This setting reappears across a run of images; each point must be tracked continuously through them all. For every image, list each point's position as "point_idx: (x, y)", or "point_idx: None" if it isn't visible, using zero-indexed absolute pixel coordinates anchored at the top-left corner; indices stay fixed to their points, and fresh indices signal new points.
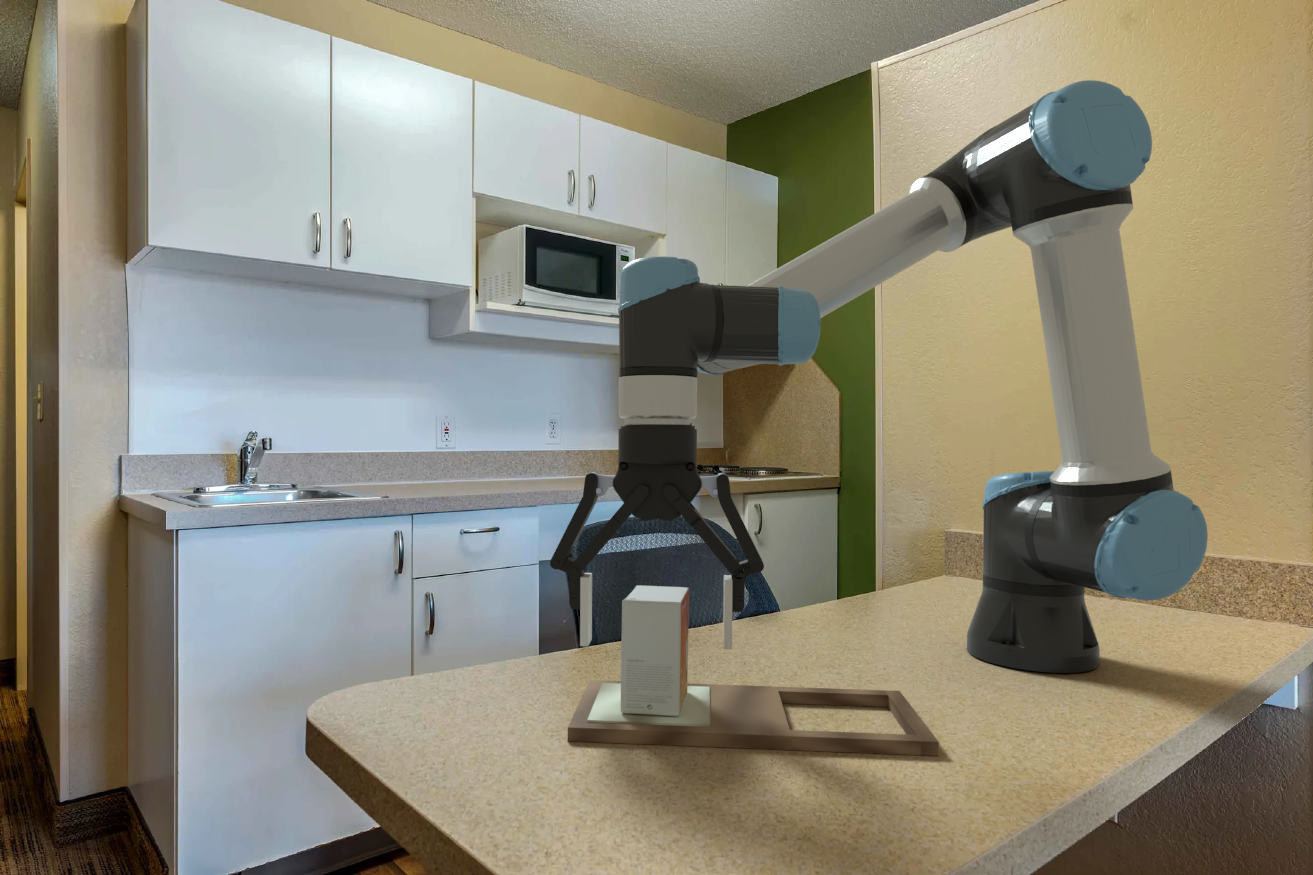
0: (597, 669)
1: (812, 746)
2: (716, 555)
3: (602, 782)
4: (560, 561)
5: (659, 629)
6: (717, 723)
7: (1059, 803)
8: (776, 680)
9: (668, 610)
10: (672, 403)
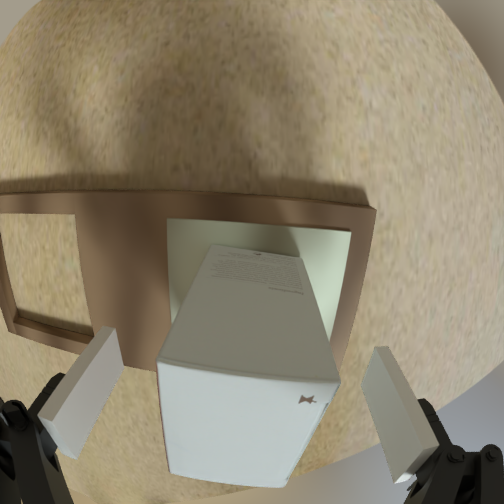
0: (315, 431)
1: (61, 191)
2: (45, 478)
3: (317, 72)
4: (487, 460)
5: (230, 320)
6: (158, 232)
7: None
8: (115, 397)
9: (198, 350)
10: None
